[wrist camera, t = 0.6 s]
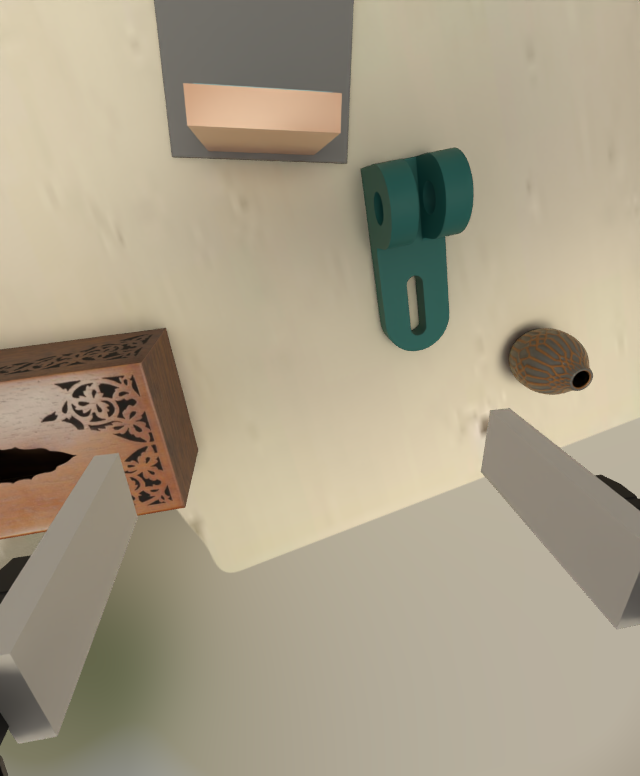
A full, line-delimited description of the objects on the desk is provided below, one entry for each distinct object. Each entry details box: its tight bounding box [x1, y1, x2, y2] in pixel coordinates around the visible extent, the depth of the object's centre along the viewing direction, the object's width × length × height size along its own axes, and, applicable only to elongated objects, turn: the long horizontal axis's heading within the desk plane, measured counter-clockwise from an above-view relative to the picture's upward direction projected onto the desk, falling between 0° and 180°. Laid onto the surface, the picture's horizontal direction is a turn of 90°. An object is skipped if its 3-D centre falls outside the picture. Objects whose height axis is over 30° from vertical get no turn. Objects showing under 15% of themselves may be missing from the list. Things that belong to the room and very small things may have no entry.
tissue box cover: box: [0, 328, 198, 539], centre depth 37 cm, size 26×14×10 cm, turn 95°
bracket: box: [361, 148, 473, 351], centre depth 37 cm, size 18×7×8 cm, turn 11°
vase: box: [509, 328, 593, 395], centre depth 43 cm, size 7×7×9 cm
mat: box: [154, 0, 354, 163], centre depth 32 cm, size 15×15×1 cm
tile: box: [183, 83, 342, 155], centre depth 29 cm, size 9×2×12 cm, turn 89°
